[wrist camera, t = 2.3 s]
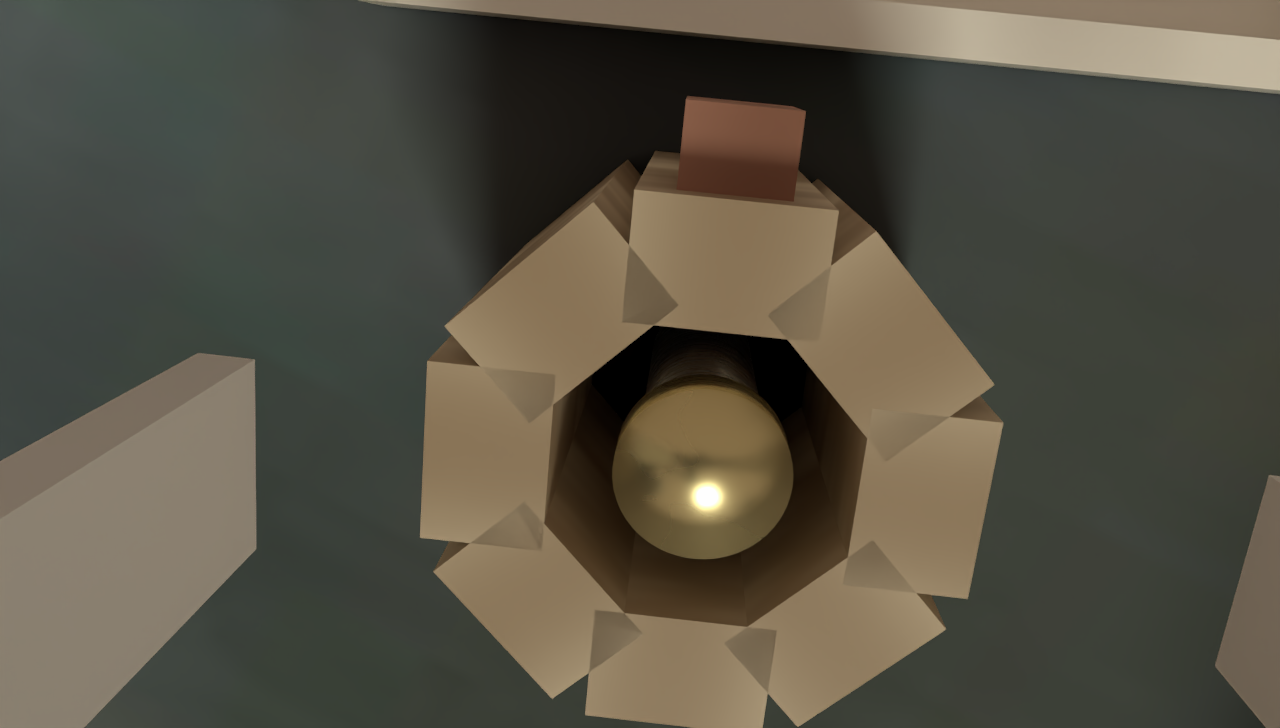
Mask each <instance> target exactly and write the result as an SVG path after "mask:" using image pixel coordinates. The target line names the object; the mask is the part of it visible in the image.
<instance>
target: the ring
mask: <svg viewBox="0 0 1280 728" xmlns="http://www.w3.org/2000/svg"><path fill="white" fill-rule="evenodd" d="M805 115H806V111H804V110H801V109H799V108H796V107H793V106H784V105H774V104H764V103H754V102H744V101H734V100H724V99H714V98H704V97H694V96H687V98H686V104H685V114H684V123H683V133H682V142H681V152H680V153H673V152H663V151H655V152H654V154H653V156H652V158H651V160H650V161H649V163H648V165H647V167H646V169H645V171H644V172H643V174H642V176H641V175H640V174H639V172H638V171H637V170H636V169H635V167H634V166H633V165H632V164H631V163H630V161H629V160H628V159H627V160H626V161H625V162H624V163H623V164H621V165H620V166H619V167H618V168H617V169H615V170H614V171H613V172H612V173H611V174H609V175H608V176H607V177H606V178H605V179H604V180H602V181H601V182H600V183H599V184H598V185H596V186H595V187H594V188H593V189H592V190H590V191H589V192H588V193H587V194H586V195H584V196H583V197H582V198H581V199H580V200H578V201H577V202H576V203H575V204H574V205H572V206H571V207H570V208H569V209H568V210H567V211H565V212H564V213H563V214H562V215H561V216H559V217H558V218H557V219H556V220H555V221H553V222H552V223H551V224H550V225H549V226H547V227H546V228H545V229H544V230H543V231H541V232H540V233H539V234H538V235H537V236H535V237H534V238H533V239H532V240H531V241H529V242H528V243H527V244H526V245H525V246H524V247H523V248H522V249H521V250H520V251H519V252H518V253H517V254H516V255H515V256H514V257H513V258H512V259H511V260H510V261H509V262H508V263H507V264H506V265H505V266H504V267H503V268H502V269H501V270H500V271H499V272H498V273H497V274H496V275H495V276H494V277H493V278H492V279H491V280H490V281H489V282H488V283H487V284H486V285H485V286H484V287H483V288H482V289H481V290H480V291H479V292H478V293H477V294H476V295H475V296H474V297H473V298H472V299H471V300H470V301H469V302H468V303H467V304H466V305H465V306H464V307H463V308H462V309H461V310H460V311H459V312H458V313H457V314H456V315H455V316H454V317H453V318H452V319H451V320H450V321H449V322H448V323H447V324H446V325H445V327H446V329H447V330H448V331H449V332H450V333H451V334H452V335H451V336H450V337H449V338H448V339H447V340H446V342H445V343H444V344H443V345H442V346H441V347H440V348H439V349H438V350H437V351H436V352H435V353H434V354H433V355H432V356H431V358H430V359H429V360H428V361H427V381H426V405H425V430H424V454H423V478H422V503H421V527H420V538H428V539H437V540H446V541H449V543H448V545H447V547H446V548H445V550H444V552H443V554H442V556H441V558H440V560H439V562H438V564H437V565H436V567H435V569H434V571H433V572H434V573H435V574H436V575H437V576H438V577H439V578H440V579H441V580H442V581H443V583H444V584H445V585H446V586H447V587H448V588H449V589H450V590H451V591H452V592H453V593H454V594H455V595H456V596H457V598H458V599H459V600H460V601H461V602H462V603H463V604H464V605H465V606H466V607H467V608H468V609H469V610H470V611H471V612H472V614H473V615H474V616H475V617H476V618H477V619H478V620H479V621H480V622H481V623H482V624H483V625H484V626H485V627H486V629H487V630H488V631H489V632H490V633H491V634H492V635H493V636H494V637H495V638H496V639H497V640H498V641H499V642H500V644H501V645H502V646H503V647H504V648H505V649H506V650H507V651H508V652H509V653H510V654H511V655H512V656H513V657H514V658H515V660H516V661H517V662H518V663H519V664H520V665H521V666H522V667H523V668H524V669H525V670H526V671H527V672H528V673H529V675H530V676H531V677H532V678H533V679H534V680H535V681H536V682H537V683H538V684H539V685H540V686H541V687H542V688H543V690H544V691H545V692H546V693H547V694H548V695H549V696H550V697H551V698H554V697H555V696H557V695H558V694H559V693H561V692H562V691H564V690H565V689H567V688H568V687H569V686H571V685H572V684H574V683H575V682H576V681H578V680H579V679H581V678H582V677H583V676H585V675H586V674H588V673H589V679H588V690H587V700H586V711H585V715H589V716H598V717H607V718H615V719H624V720H632V721H641V722H650V723H658V724H667V725H676V726H684V727H693V728H763V721H764V715H765V708H766V701H767V694H769V695H770V696H771V697H772V698H773V700H774V701H775V702H776V703H777V704H778V705H779V706H780V708H781V709H782V710H783V711H784V712H785V713H786V714H787V715H788V717H789V718H790V719H791V720H792V721H793V722H794V723H795V725H796V726H797V727H799V726H800V725H802V724H803V723H805V722H806V721H808V720H809V719H811V718H812V717H814V716H815V715H817V714H818V713H820V712H821V711H823V710H825V709H826V708H828V707H829V706H831V705H832V704H834V703H835V702H837V701H838V700H840V699H841V698H843V697H844V696H846V695H847V694H849V693H850V692H852V691H853V690H855V689H856V688H858V687H859V686H861V685H863V684H864V683H866V682H867V681H869V680H870V679H872V678H873V677H875V676H876V675H878V674H879V673H881V672H882V671H884V670H885V669H887V668H888V667H890V666H891V665H893V664H894V663H896V662H897V661H899V660H901V659H902V658H904V657H905V656H907V655H908V654H910V653H911V652H913V651H914V650H916V649H917V648H919V647H920V646H922V645H923V644H925V643H926V642H928V641H929V640H931V639H932V638H934V637H935V636H937V635H939V634H940V633H942V632H943V631H945V630H946V628H945V625H944V623H943V621H942V619H941V616H940V614H939V612H938V610H937V607H936V605H935V603H934V601H933V598H932V596H931V595H937V596H946V597H955V598H964V599H968V595H969V590H970V585H971V580H972V575H973V570H974V565H975V560H976V555H977V551H978V546H979V541H980V536H981V531H982V526H983V521H984V516H985V511H986V506H987V501H988V496H989V491H990V486H991V481H992V476H993V471H994V467H995V462H996V457H997V452H998V447H999V442H1000V437H1001V432H1002V427H1003V422H1002V421H1001V420H1000V418H999V417H998V416H997V415H996V414H995V413H994V411H993V410H992V409H991V408H990V407H989V406H988V405H987V403H986V402H985V401H984V400H983V399H982V398H981V396H980V395H981V394H982V393H984V392H985V391H987V390H988V389H990V388H991V387H992V386H994V383H993V382H992V381H991V379H990V378H989V377H988V376H987V374H986V373H985V372H984V370H983V369H982V368H981V366H980V365H979V364H978V363H977V361H976V360H975V359H974V357H973V356H972V355H971V353H970V352H969V351H968V350H967V348H966V347H965V346H964V344H963V343H962V342H961V340H960V339H959V338H958V337H957V335H956V334H955V333H954V331H953V330H952V329H951V327H950V326H949V325H948V324H947V322H946V321H945V320H944V318H943V317H942V316H941V314H940V313H939V312H938V311H937V309H936V308H935V307H934V305H933V304H932V303H931V301H930V300H929V299H928V298H927V296H926V295H925V294H924V292H923V291H922V290H921V288H920V287H919V286H918V285H917V283H916V282H915V281H914V279H913V278H912V277H911V275H910V274H909V273H908V272H907V270H906V269H905V268H904V266H903V265H902V264H901V262H900V261H899V260H898V259H897V257H896V256H895V255H894V253H893V252H892V251H891V249H890V248H889V247H888V246H887V244H886V243H885V242H884V240H883V239H882V238H881V236H880V235H879V234H878V233H877V231H876V230H875V229H873V228H872V227H871V226H870V225H869V224H868V223H867V222H866V221H865V220H863V219H862V218H861V217H860V216H859V215H858V214H857V213H856V212H855V211H853V210H852V209H851V208H850V207H849V206H848V205H847V204H846V203H845V202H843V201H842V200H841V199H840V198H839V197H838V196H837V195H836V194H834V193H833V192H832V191H831V190H830V189H829V188H828V187H827V186H826V185H824V184H823V183H822V182H821V181H820V180H819V179H817V180H815V181H814V182H813V183H811V182H810V181H809V180H808V179H807V178H806V177H805V176H804V175H803V174H802V173H801V172H800V171H799V170H798V167H799V160H800V152H801V145H802V137H803V130H804V123H805ZM654 325H656V326H665V327H675V328H684V329H694V330H703V331H712V332H722V333H731V334H741V335H750V336H760V337H769V338H779V339H787V340H788V341H789V342H790V343H791V345H792V346H793V347H794V348H795V350H796V351H797V352H798V353H799V355H800V356H801V357H802V358H803V360H804V361H805V362H806V363H807V372H806V379H805V386H804V393H803V400H802V407H801V408H799V409H798V410H797V411H795V412H794V413H793V414H791V415H790V416H788V417H787V418H786V419H784V420H783V421H782V422H781V423H782V425H783V428H784V431H785V434H786V437H787V442H788V446H789V450H790V454H791V459H792V464H793V487H792V492H791V496H790V500H789V502H788V505H787V508H786V510H785V511H784V513H783V515H782V517H781V519H780V520H779V521H778V523H777V524H776V526H775V527H774V528H773V529H772V530H771V531H770V532H769V533H768V534H767V535H766V536H765V537H764V538H763V539H761V540H760V541H759V542H757V543H756V544H754V545H753V546H751V547H749V548H748V549H745V550H743V551H741V552H739V553H736V554H733V555H730V556H727V557H722V558H716V559H691V558H685V557H680V556H677V555H673V554H670V553H668V552H665V551H663V550H661V549H659V548H657V547H655V546H654V545H652V544H650V543H649V542H648V541H646V540H645V539H644V538H642V537H641V536H640V535H639V534H638V533H637V532H636V531H635V530H634V529H633V528H632V527H631V525H630V524H629V523H628V521H627V520H626V519H625V517H624V515H623V513H622V512H621V510H620V508H619V505H618V503H617V500H616V497H615V493H614V489H613V481H612V467H613V461H614V455H615V450H616V446H617V441H618V437H619V434H620V431H621V427H622V425H623V423H624V421H623V420H622V419H621V418H620V417H619V416H618V414H617V413H616V412H615V411H614V410H613V409H612V407H611V406H610V405H609V404H608V403H607V402H606V400H605V399H604V398H603V397H602V396H601V395H600V393H599V392H598V391H597V390H596V389H595V388H594V386H593V385H592V375H593V373H594V372H595V371H596V370H598V369H599V368H600V367H602V366H603V365H604V364H605V363H607V362H608V361H609V360H610V359H612V358H613V357H614V356H616V355H617V354H618V353H619V352H621V351H622V350H623V349H624V348H626V347H627V346H628V345H629V344H631V343H632V342H633V341H635V340H636V339H637V338H638V337H640V336H641V335H642V334H643V333H645V332H646V331H647V330H648V329H650V328H651V327H652V326H654Z"/></svg>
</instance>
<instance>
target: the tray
mask: <svg viewBox="0 0 1280 728" xmlns="http://www.w3.org/2000/svg"><path fill="white" fill-rule="evenodd" d="M359 1H364V2H368V3H373V4H378V5H383V6H392V7H402V8H412V9H422V10H432V11H442V12H452V13H463V14H473V15H483V16H493V17H503V18H513V19H523V20H534V21H544V22H554V23H564V24H574V25H584V26H594V27H605V28H615V29H625V30H635V31H645V32H655V33H665V34H676V35H686V36H696V37H706V38H716V39H726V40H736V41H746V42H757V43H767V44H777V45H787V46H797V47H807V48H817V49H828V50H838V51H848V52H858V53H868V54H878V55H888V56H899V57H909V58H919V59H929V60H939V61H949V62H959V63H970V64H980V65H990V66H1000V67H1010V68H1020V69H1030V70H1040V71H1051V72H1061V73H1071V74H1081V75H1091V76H1101V77H1111V78H1122V79H1132V80H1142V81H1152V82H1162V83H1172V84H1182V85H1193V86H1203V87H1213V88H1223V89H1233V90H1243V91H1253V92H1264V93H1274V94H1280V0H359Z"/></svg>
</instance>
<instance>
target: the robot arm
mask: <svg viewBox="0 0 1280 728" xmlns="http://www.w3.org/2000/svg"><path fill="white" fill-rule="evenodd" d="M255 550H256V451H255V359H247V358H238V357H229V356H220V355H212V354H203V353H197V354H195V355H194V356H192V357H190V358H188V359H186V360H184V361H183V362H181V363H179V364H177V365H175V366H173V367H172V368H170V369H168V370H166V371H164V372H162V373H161V374H159V375H157V376H155V377H153V378H151V379H150V380H148V381H146V382H144V383H142V384H141V385H139V386H137V387H135V388H133V389H131V390H130V391H128V392H126V393H124V394H122V395H120V396H119V397H117V398H115V399H113V400H111V401H109V402H108V403H106V404H104V405H102V406H100V407H98V408H97V409H95V410H93V411H91V412H89V413H87V414H86V415H84V416H82V417H80V418H78V419H76V420H75V421H73V422H71V423H69V424H67V425H65V426H64V427H62V428H60V429H58V430H56V431H54V432H53V433H51V434H49V435H47V436H45V437H44V438H42V439H40V440H38V441H36V442H34V443H33V444H31V445H29V446H27V447H25V448H23V449H22V450H20V451H18V452H16V453H14V454H12V455H11V456H9V457H7V458H5V459H3V460H1V461H0V728H84V727H85V726H86V725H87V724H88V723H89V722H90V721H91V720H92V719H93V718H94V717H95V716H96V715H97V714H98V713H99V712H100V710H101V709H102V708H103V707H104V706H105V705H106V704H107V703H108V702H109V701H110V700H111V699H112V698H113V697H114V696H115V695H116V694H117V693H118V692H119V691H120V690H121V689H122V688H123V687H124V686H125V685H126V683H127V682H128V681H129V680H130V679H131V678H132V677H133V676H134V675H135V674H136V673H137V672H138V671H139V670H140V669H141V668H142V667H143V666H144V665H145V664H146V663H147V662H148V661H149V660H150V659H151V658H152V657H153V655H154V654H155V653H156V652H157V651H158V650H159V649H160V648H161V647H162V646H163V645H164V644H165V643H166V642H167V641H168V640H169V639H170V638H171V637H172V636H173V635H174V634H175V633H176V632H177V631H178V630H179V629H180V627H181V626H182V625H183V624H184V623H185V622H186V621H187V620H188V619H189V618H190V617H191V616H192V615H193V614H194V613H195V612H196V611H197V610H198V609H199V608H200V607H201V606H202V605H203V604H204V603H205V602H206V601H207V599H208V598H209V597H210V596H211V595H212V594H213V593H214V592H215V591H216V590H217V589H218V588H219V587H220V586H221V585H222V584H223V583H224V582H225V581H226V580H227V579H228V578H229V577H230V576H231V575H232V574H233V572H234V571H235V570H236V569H237V568H238V567H239V566H240V565H241V564H242V563H243V562H244V561H245V560H246V559H247V558H248V557H249V556H250V555H251V554H252V553H253V552H254V551H255ZM1215 667H1216V668H1217V669H1218V670H1219V672H1220V673H1221V674H1222V675H1223V676H1224V678H1225V679H1226V680H1227V681H1228V683H1229V684H1230V685H1231V686H1232V687H1233V689H1234V690H1235V691H1236V692H1237V693H1238V695H1239V696H1240V697H1241V698H1242V699H1243V701H1244V702H1245V703H1246V704H1247V705H1248V707H1249V708H1250V709H1251V710H1252V712H1253V713H1254V714H1255V715H1256V716H1257V718H1258V719H1259V720H1260V721H1261V722H1262V724H1263V725H1264V726H1265V727H1266V728H1280V476H1273V475H1269V477H1268V480H1267V484H1266V487H1265V491H1264V494H1263V498H1262V502H1261V505H1260V509H1259V512H1258V516H1257V519H1256V523H1255V526H1254V530H1253V533H1252V537H1251V540H1250V544H1249V547H1248V551H1247V554H1246V558H1245V561H1244V565H1243V568H1242V572H1241V576H1240V579H1239V583H1238V586H1237V590H1236V593H1235V597H1234V600H1233V604H1232V607H1231V611H1230V614H1229V618H1228V621H1227V625H1226V628H1225V632H1224V635H1223V639H1222V643H1221V646H1220V650H1219V653H1218V657H1217V660H1216V664H1215Z"/></svg>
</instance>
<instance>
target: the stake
mask: <svg viewBox="0 0 1280 728" xmlns="http://www.w3.org/2000/svg"><path fill="white" fill-rule="evenodd" d="M612 481H613V489H614V493H615V497H616V500H617V503H618V505H619V508H620V510H621V512H622V513H623V515H624V517H625V519H626V520H627V521H628V523H629V524H630V525H631V527H632V528H633V529H634V530H635V531H636V532H637V533H638V534H639V535H640V536H641V537H642V538H644V539H645V540H646V541H648V542H649V543H650V544H652V545H654V546H655V547H657V548H659V549H661V550H663V551H665V552H668V553H670V554H673V555H677V556H680V557H685V558H691V559H716V558H722V557H727V556H730V555H733V554H736V553H739V552H741V551H743V550H745V549H748V548H749V547H751V546H753V545H754V544H756V543H757V542H759V541H760V540H761V539H763V538H764V537H765V536H766V535H767V534H768V533H769V532H770V531H771V530H772V529H773V528H774V527H775V526H776V524H777V523H778V521H779V520H780V519H781V517H782V515H783V513H784V511H785V510H786V508H787V505H788V502H789V500H790V496H791V492H792V487H793V464H792V459H791V454H790V450H789V446H788V442H787V437H786V434H785V431H784V428H783V425H782V423H781V421H780V419H779V418H778V416H777V414H776V413H775V411H774V410H773V409H772V407H771V406H770V405H769V404H768V403H767V402H766V400H765V399H764V398H763V397H761V396H760V395H759V394H758V391H757V385H756V380H755V374H754V369H753V364H752V358H751V353H750V347H749V343H748V339H747V336H746V335H741V334H731V333H722V332H712V331H703V330H694V329H684V328H675V327H665V326H661V328H660V329H659V331H658V333H657V335H656V338H655V341H654V345H653V351H652V357H651V364H650V370H649V376H648V382H647V388H646V394H645V395H644V396H643V397H642V398H641V399H640V400H639V401H638V402H637V403H636V404H635V406H634V407H633V408H632V409H631V411H630V412H629V414H628V415H627V417H626V419H625V421H624V423H623V425H622V427H621V431H620V434H619V437H618V441H617V446H616V450H615V455H614V461H613V467H612Z"/></svg>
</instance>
